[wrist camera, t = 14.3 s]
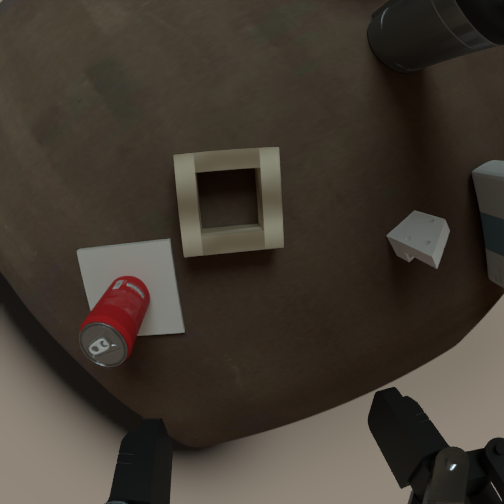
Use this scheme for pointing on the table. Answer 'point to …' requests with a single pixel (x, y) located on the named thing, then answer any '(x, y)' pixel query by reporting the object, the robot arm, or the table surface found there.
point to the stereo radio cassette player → (492, 215)
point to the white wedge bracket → (420, 238)
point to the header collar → (230, 237)
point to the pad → (143, 267)
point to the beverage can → (115, 322)
